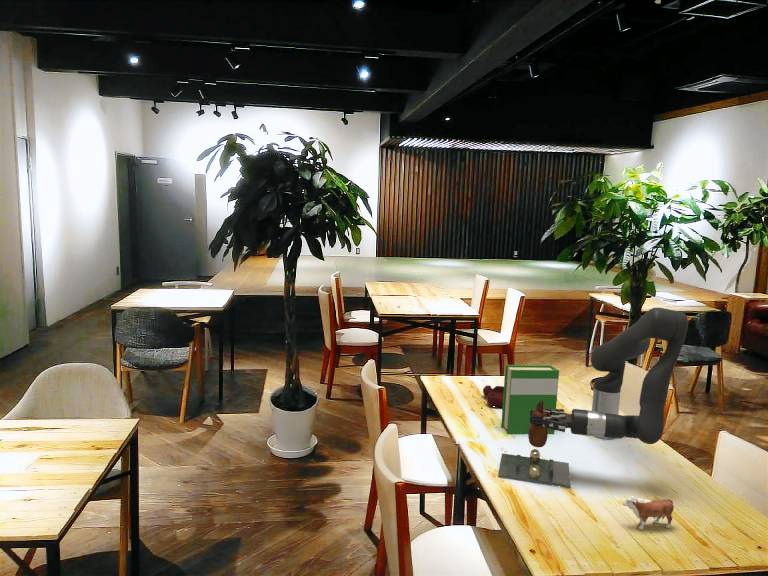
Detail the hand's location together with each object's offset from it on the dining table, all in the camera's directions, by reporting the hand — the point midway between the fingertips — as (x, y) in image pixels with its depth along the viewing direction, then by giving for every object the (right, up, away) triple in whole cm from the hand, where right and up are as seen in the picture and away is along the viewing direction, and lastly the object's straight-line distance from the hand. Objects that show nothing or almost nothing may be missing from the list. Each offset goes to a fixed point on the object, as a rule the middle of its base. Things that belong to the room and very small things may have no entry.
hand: (530, 416), depth 177 cm
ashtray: (+6, -10, +67) cm, 68 cm away
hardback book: (+8, -14, +36) cm, 39 cm away
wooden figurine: (+2, -9, +1) cm, 10 cm away
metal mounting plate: (+2, -18, +2) cm, 18 cm away
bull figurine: (+24, -23, -28) cm, 43 cm away
